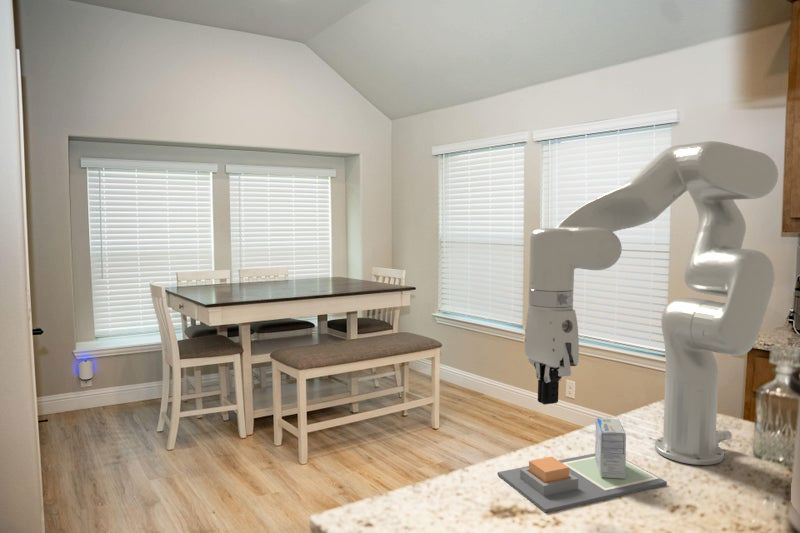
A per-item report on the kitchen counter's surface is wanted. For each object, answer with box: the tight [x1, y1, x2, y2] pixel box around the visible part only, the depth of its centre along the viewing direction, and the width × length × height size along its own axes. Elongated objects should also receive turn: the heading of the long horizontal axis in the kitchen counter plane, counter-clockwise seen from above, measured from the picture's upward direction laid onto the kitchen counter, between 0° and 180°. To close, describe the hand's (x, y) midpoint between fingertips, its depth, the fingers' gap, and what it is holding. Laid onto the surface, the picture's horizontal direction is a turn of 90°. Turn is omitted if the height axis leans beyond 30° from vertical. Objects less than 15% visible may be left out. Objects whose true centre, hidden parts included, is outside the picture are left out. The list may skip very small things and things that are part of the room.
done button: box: [528, 456, 569, 483], centre depth 105 cm, size 5×5×2 cm
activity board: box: [497, 452, 668, 514], centre depth 108 cm, size 26×15×2 cm, turn 111°
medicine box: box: [594, 417, 627, 479], centre depth 110 cm, size 8×4×9 cm, turn 168°
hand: (547, 402), depth 104 cm, fingers closed
